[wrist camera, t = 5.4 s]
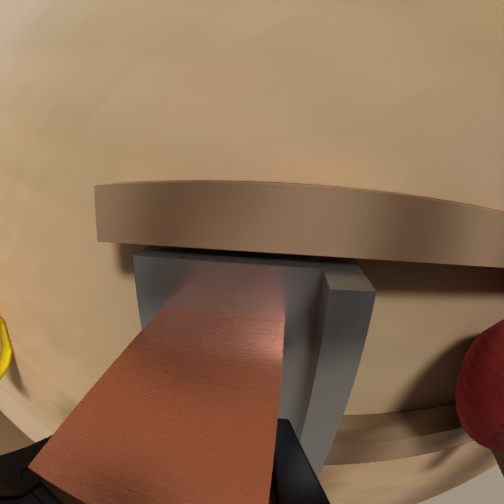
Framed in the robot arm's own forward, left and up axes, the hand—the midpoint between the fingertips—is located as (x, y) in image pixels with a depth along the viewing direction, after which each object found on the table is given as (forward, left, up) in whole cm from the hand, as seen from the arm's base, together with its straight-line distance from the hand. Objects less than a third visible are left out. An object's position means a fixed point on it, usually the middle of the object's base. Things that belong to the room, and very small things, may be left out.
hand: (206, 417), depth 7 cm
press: (-1, 0, -4) cm, 4 cm away
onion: (-12, 0, -5) cm, 13 cm away
